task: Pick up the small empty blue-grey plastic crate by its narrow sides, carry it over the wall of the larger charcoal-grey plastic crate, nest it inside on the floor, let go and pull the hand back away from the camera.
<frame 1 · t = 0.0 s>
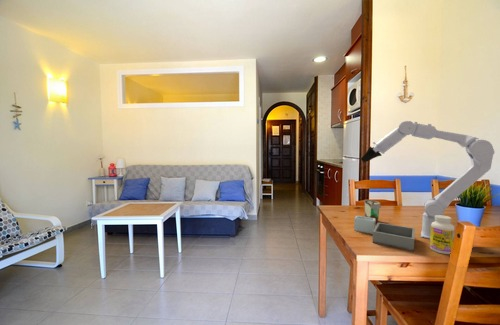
hand: (363, 160, 114), 32 cm above the table, tool tilted 50°, fingers open, 7 cm apart
big crate: (393, 240, 95), on the table
small crate: (364, 230, 107), on the table
supplement bottle: (441, 251, 85), on the table
food container: (373, 221, 121), on the table
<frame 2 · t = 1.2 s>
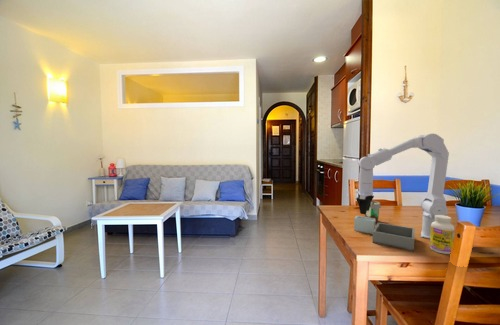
hand: (364, 212, 106), 9 cm above the table, tool pointing down, fingers open, 7 cm apart
nothing on the table moved.
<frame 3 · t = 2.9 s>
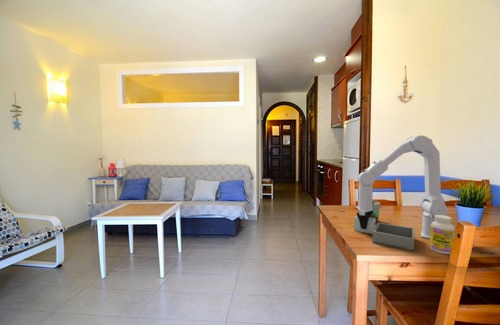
hand: (364, 227, 107), 2 cm above the table, tool pointing down, fingers closed on small crate, 5 cm apart
small crate: (364, 230, 107), on the table, touching gripper
everything else where it was.
when the fingers open (4 cm above the table, at t = 7.0 s): small crate drops 1 cm, resting on big crate.
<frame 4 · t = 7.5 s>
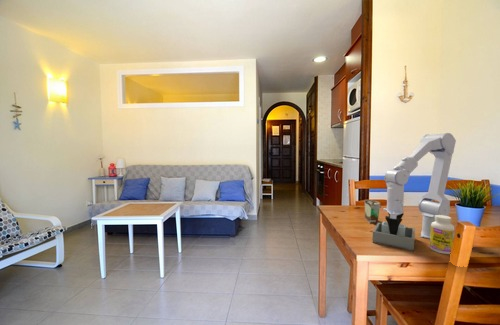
hand: (394, 232, 95), 4 cm above the table, tool pointing down, fingers open, 7 cm apart
small crate: (393, 239, 95), point 1 cm above the table, touching big crate
everything else where it was.
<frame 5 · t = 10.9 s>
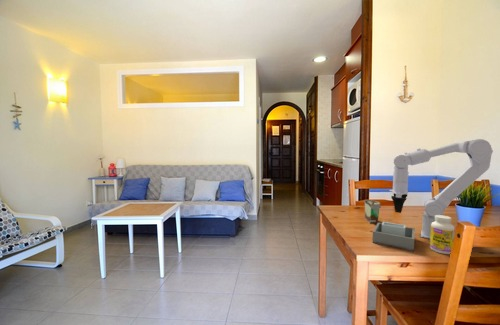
hand: (398, 210, 106), 9 cm above the table, tool pointing down, fingers open, 7 cm apart
nothing on the table moved.
at the end: small crate inside the target area on the big crate (0.3 cm from its centre), point 0.6 cm above the big crate's base; small crate tilted 0°; the gripper is holding nothing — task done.
